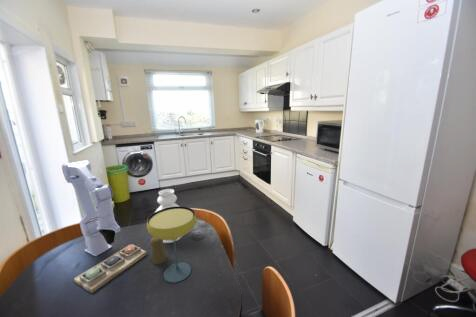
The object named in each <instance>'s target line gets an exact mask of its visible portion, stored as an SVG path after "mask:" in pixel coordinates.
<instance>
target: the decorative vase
mask: <svg viewBox="0 0 476 317" xmlns="http://www.w3.org/2000/svg"><path fill="white" fill-rule="evenodd" d="M158 195H159V196H158V197H157V200H156V201H157V203H158V204H159V206H158V208H157V209H156V210H155V211H154V213H155V212H157V211H159V210H162V209H165V208H169V207H179V206H180V205H178V204H177V203H176V201H177V200H178V197H177V195H176V194H175V189H173V188H166V189H161V190H159V191H158ZM182 238H183V236H181V237H179V238H177V240H175V242H177V241H179V240H180V239H182ZM171 243H174V241H172V240H171V239H169V240H163V243H162V244H171Z"/></svg>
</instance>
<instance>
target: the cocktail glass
mask: <svg viewBox="0 0 476 317" xmlns="http://www.w3.org/2000/svg"><path fill="white" fill-rule="evenodd" d="M196 223H197V215H196V212H195V210H194V209H192V208H190V207H187V206H180V205H179V207H169V208H165V209H162V210H159V211H157V212H155V211H154V213H152V214H151V215H150V216H149V217H148V218H147V220H146V229H147V232H148V234H149V235H150V236H152V238H153V237H155V238H158V239H163V240H169V239H171V240H172V241H174V242H173V246H174V248H173V249H174V257H175V258H174V260H175V263H173V264H171V265H169V266H168V267H167V268H165V270H164V272H163V278H164V280H165V281H166V282H168V283H171V284H172V283H180V282H183V281H184V280H186V279H187V278H188V277H189V276H190V275H191V272H192V267H191V266H190V264H189V263H187V262H181V261H180V262H179V261H178V255H177V246H176V241H175V240H177V238H179V237H181V236H182V237H183V236H185V235H187V234H188V233H189V232H191V231H192V230H193V229H194V227H195V225H196ZM182 237H181V238H182ZM177 241H178V240H177Z"/></svg>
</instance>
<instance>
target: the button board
mask: <svg viewBox="0 0 476 317" xmlns="http://www.w3.org/2000/svg"><path fill="white" fill-rule="evenodd" d="M128 246H135V251H134V252H132V253H131V254H129V255H127V254H125V251H124V249H125V248H126V247H128ZM147 254H148V252H147V251H146V250H144V249H142V248H141V247H140V246H137V245H135V244H132V243H131V244H128V245H127V246H124V247H123V248H121V249H120V250H118V251H116V252H115V253H113V254H112V255H110V256H109V257H107V258H105V259H104V260H102V261H100V262H99V263H97V264H96V265H94V266H92V267H90V268H89V269H87V270H85V271H84V272H82V273H81V274H79V275H78V276H76V277H74V278H73V280H74V282H75V283H76V284H77V285H79V287H82V288H83V289H84V290H85V291H88V292H89V293H91V294H93V293H95V292H96V291H97V290H98V289H99V288H100V289H101V287H103V286H104V285H106V284H107V283H108V282H110V281H111V280H113V279H114V278H116V277H117V276H118V275H120V274H122V273H123V272H124V271H125V270H127V269H128V268H130V267H131V266H133V265H134V264H135V263H137V262H138V261H140V260H141V259H143V258H144V257H145V256H146V255H147ZM112 256H118V258H119V261H118V262H117V263H115V264H114V265H112V266H111V267H110V266H108V265H107V262H106V261H107V259H108V258H110V257H112ZM93 268H98V269H99V272H100V274H98V275H97V276H95V277H94V278H92V279H91V280H88V279H86V272H87V271H89V270H90V269H93Z"/></svg>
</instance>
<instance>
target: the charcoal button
mask: <svg viewBox="0 0 476 317" xmlns="http://www.w3.org/2000/svg"><path fill="white" fill-rule="evenodd" d="M111 256H112V255H111ZM109 257H110V256H109ZM107 258H108V257H107ZM107 258H106V259H107ZM118 261H119V258H118V256H112V257H110V258H108V259H107V261H106V262H107V265H108V266H110V267H111V266H112V265H114V264H115V263H117V262H118Z"/></svg>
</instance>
